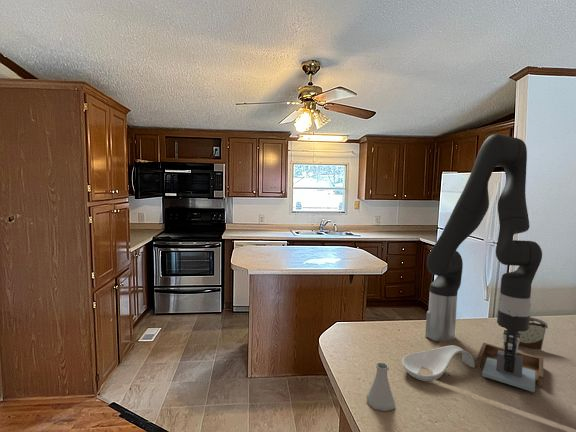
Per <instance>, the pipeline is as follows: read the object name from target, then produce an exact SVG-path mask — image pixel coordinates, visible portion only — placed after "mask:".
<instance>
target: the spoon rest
mask: <svg viewBox="0 0 576 432" xmlns="http://www.w3.org/2000/svg"><path fill="white" fill-rule="evenodd" d="M457 354H461V361H462V362H463V364H465V365H467V366H468V367H471V368H476V363H475V362H476V361H475V359H474V357H473V355H472V354H471V353H470V352H468V351H466V350H464V349H463V348H462V347H460V346H458V345H445V346H441V347H438V348H433V349H428V350H424V351H423V350H422V351H418V352H413V353H409V354H407V355H404V357H403V358H402V359H401V364H402V367H403V369H404V370H405V371H406V373H408V374H409V375H410V376H411V377H413V378H414V379H417V380H419V381H423V382H432V381H435V380H438V379H439V378H440V377H442V376H443V374H444V373H445V372H446V370H447V368H448V367H449V365H450V363H451V361H452V359H453V358H454V357H455V355H457ZM421 368H425V369H427V370H429V371H430V372H432V374H428V375H427V374H422V373H419V371H420V370H421Z"/></svg>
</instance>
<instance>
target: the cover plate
mask: <svg viewBox="0 0 576 432" xmlns="http://www.w3.org/2000/svg"><path fill="white" fill-rule="evenodd" d="M508 355H510V354H508ZM512 356H513V355H512ZM515 358H516V360H515V361H514V372H513V373H510V372H507V371H505V370H504V365H505V359H504V351H501V350H498V353H497V360H495V359H491V358H488V357H487V359H486V363H485V366H484V369H482V373H481V374H482V375H481V376H482V377H484V378H487V379H490V380H494V381H497V382H500V383H504V384H507V385H510V386H512V387H516V388H520V389H522V390H527V391H529V392H531V393H535V392H536V386H535V371H534V370H530V369H527V368H523V356H520V355H516V354H515Z"/></svg>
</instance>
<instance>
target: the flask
mask: <svg viewBox="0 0 576 432" xmlns="http://www.w3.org/2000/svg"><path fill="white" fill-rule="evenodd" d="M375 368H376V373H375V377H374V379H373V381H372V383H371V386H370V388H369V390H368V392H367V395H366V404H368V405H369V406H370V407H371V408H372V409H374V410H376V411H383V412H387V411H391V410H395V409H396V406H395V404H396V403H395V399H394V396H393V392H392V390H391V386H390V383H389V379H388V370H389V369H390V368H389V365H388V363H386V362H382V361H379V362H376V363H375Z"/></svg>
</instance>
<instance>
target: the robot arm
mask: <svg viewBox="0 0 576 432" xmlns="http://www.w3.org/2000/svg"><path fill="white" fill-rule="evenodd" d="M527 162H528V148H527V145H526V143H525V142H524V140H522V139H521V138H518V137H514V136H509V135H505V134H500V133H493V134H491V135H489V136H488V137H487V138H485V140H484V142H483V143H482V145H481V147H480V149H479V151H478V153H477V155H476V159H475V161H474V163H473V167H472V169H471V172H470V174H469V177H468V179H467V182H466V184H465V186H464V188H463V190H462V192H461V194H460V196H459V198H458V200H457V201H456V203H455V204H454V205H455V206H454V207H453V210H452V212H451V214H450V217H449V218H448V220H447V223H446V224H445V226H444V228H443V230H442V233H441V234H440V236H439V238H438V239H437V241H436V242H435V244H434V245H433V247H432V248H431V250H430V252H429V253H428V256H427V258H426V267H427V270H428V272H430V274H432V275H434V276H437V277H436V278H435V279H434V280H433V281H432V282H431V283H430V284H429V295H428V296H429V297H428V299H429V300H428V310H427V311H426V321H425V322H426V323H425V338H428V339H430V340H431V341H433V342H437V343H440V342H441V341H442V342H451V341H454V340H455V336H456V320H457V304H458V291H459V290H460V287H461V285H462V284H461V283H462V277H463V276H462V275H463V268H464V267H463V266H464V265H463V258H462V255H461V253H460V252H459V251H457V250H458V248H459V246H461V244H462V243H463V242H464V241H465V240H467V238H469V237H470V236H471V235H472V233H474V232H475V231H476V230H477V229H478V227H479V226H480V225H481V223H482V221H483V220H484V217H485V216H486V214H487V212H488V210H489V207H490V196H489V195H490V194H489V181H490V178H491V176H492V174H493V172H494V170H495V169H496V167H500V168H503V170H504V173H505V174H504V175H505V184H504V186H503V190H502V191H501V193H500V196H499V199H498V202H497V214H498V222H499V223H498V224H499V229H498V230H499V231H498V236H497V237H498V238H497V242H496V247H495V257H496V259H497V261H498V262H499V263H500V264H502V265H505V266H516V267H517V266H518V267H517V268H516V270H514V271H510V272H505V273H503V274H502V275H501V278H500V290H499V291H500V292H499V298H498V304H497V306H498V307H497V314H496V315H497V318H496V323H497V325H498V326H499V327H502V328H503V329H504V330H503V334H502V339H503V344H502V345H503V346H502V347H503V349H504V359H505V365H504V370H505V371H507V372H510V373H513V372H514V361H515V360H516V358H515V354H516V353H517V352H519V347H520V346H519V342H520V336H521V333H518V332H519V331H521V332H524V331H527V330H529V323H530V317H531V308H532V303H531V295H532V283H533V281H534V280H535V277H536V274H537V271H538V269H539V267H540V265H541V262H542V259H543V250H542V248H541V246H540V244H538V243H537V242H536V241H533V240H518V239H517V240H514V236H515V235H517V234H523V233H525V232H528V231H529V230H530V220H529V213H528V212H529V211H528V206H527V197H526V195H527V194H526V187H527V186H526V184H527V183H526V182H527V166H528V165H527ZM508 354H510V355H508ZM512 355H513V356H512Z"/></svg>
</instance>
